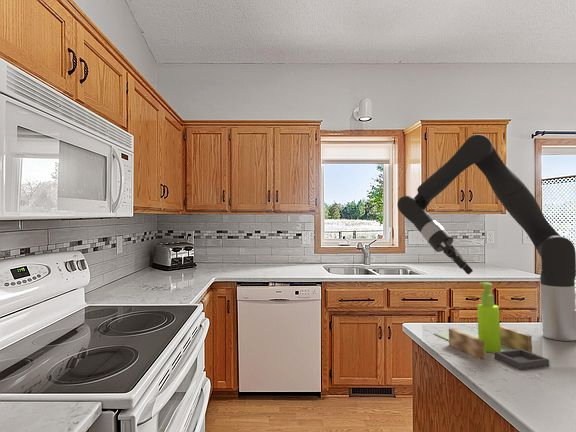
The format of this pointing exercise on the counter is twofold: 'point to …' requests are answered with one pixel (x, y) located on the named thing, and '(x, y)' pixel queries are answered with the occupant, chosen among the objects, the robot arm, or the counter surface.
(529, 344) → the oak channel
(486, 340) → the soap dispenser
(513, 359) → the pit tray
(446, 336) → the mat
